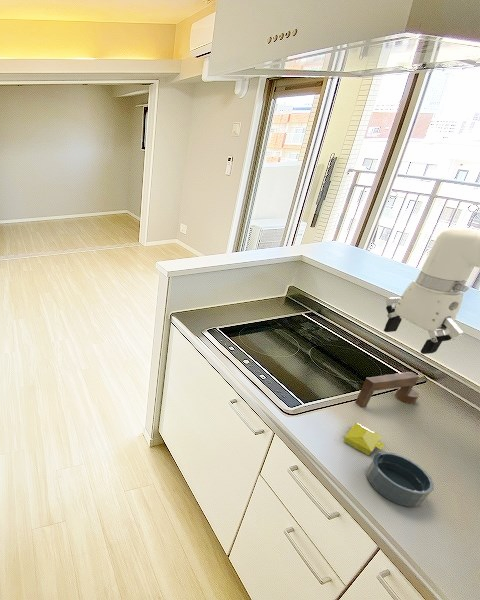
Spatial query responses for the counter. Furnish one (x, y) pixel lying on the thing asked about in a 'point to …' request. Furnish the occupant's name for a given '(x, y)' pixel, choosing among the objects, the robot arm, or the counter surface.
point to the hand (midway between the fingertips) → (407, 341)
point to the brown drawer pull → (387, 382)
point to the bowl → (399, 479)
